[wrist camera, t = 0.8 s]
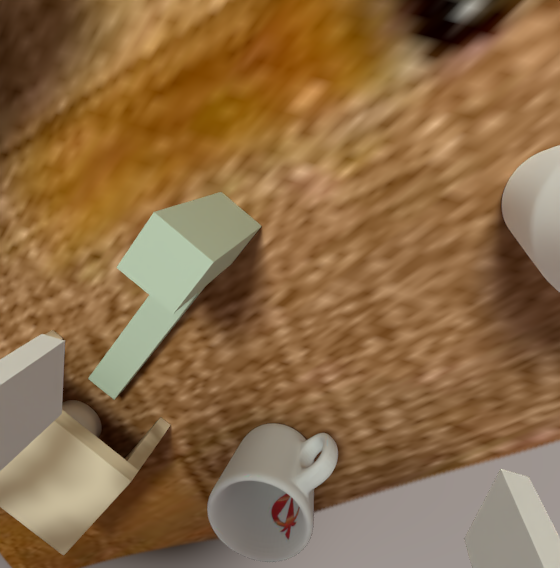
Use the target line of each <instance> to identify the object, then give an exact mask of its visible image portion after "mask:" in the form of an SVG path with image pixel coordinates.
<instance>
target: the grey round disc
mask: <svg viewBox="0 0 560 568" xmlns="http://www.w3.org/2000/svg"><path fill="white" fill-rule="evenodd" d="M62 410H63V411H65V412H66V413H67V414H68V415H70V416H71V417H72V418H73V419H75V420H76V421H77V422H78V423H80V424H81V425H82V426H83V427H85V428H86V429H87V430H89V431H90V432H91V433H92V434H94V435H95V436H96V437H97V438H99V436H100V434H101V431H102V425H101V421H100V419H99V417H98V415H97V414H96V412H95V411H94V410H93V409H92V408H91V407H90V406H88V405H87V404H85V403H83V402H80V401H76V400H68V401H65V402H63V403H62Z"/></svg>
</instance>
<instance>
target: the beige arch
mask: <svg viewBox="0 0 560 568" xmlns="http://www.w3.org/2000/svg"><path fill="white" fill-rule="evenodd" d="M45 335H48V336H51V337H55V338H58V339H61V340H62V339H63V338H62V337H61V336H59V335H58V334H57V333H56V332H54V331H53V330H52V331H50V332H48V333H47V334H45ZM170 426H171V425H170V424H169V423H168V422H166V421H165V420H164V419H163V418H161V417H160V419H159V420H158V421H157V422H156V423H155V424H154V425H153V427H152V428H151V429H150V430H149V431H148V432H147V434H146V435H145V436H144V437H143V438H142V439H141V440H140V442H139V443H138V444H137V445H136V446H135V447H134V448H133V450H132V451H131V452H130V453H129V454H128V455H127V456H126V458H125V459H124V458H123V457H121V456H120V455H119V454H117V453H116V452H115V451H114V450H112V449H111V448H110V447H109V446H107V445H106V444H105V443H104V442H102V441H101V440H100V439H99V438H97V437H96V436H95V435H94V434H92V433H91V432H90V431H89V430H87V429H86V428H85V427H83V426H82V425H81V424H80V423H78V422H77V421H76V420H75V419H73V418H72V417H71V416H70V415H68V414H67V413H66V412H65V411H63V410H62V414H61V415H60V416H59V417H58V418H57V419H56V420H55V421H54V422H53V423H51V424H50V425H49V426H48V427H47V428H46V429H45V430H44V431H43V432H42V433H41V434H40V435H39V436H37V437H36V438H35V439H34V440H33V441H32V442H31V443H30V444H29V445H28V446H27V447H26V448H25V449H23V450H22V451H21V452H20V453H19V454H18V455H17V456H16V457H15V458H14V459H13V460H12V461H11V462H10V463H8V464H7V465H6V466H5V467H4V468H3V469H2V470H1V471H0V507H1V508H2V509H4V510H5V511H6V512H8V513H9V514H10V515H11V516H13V517H14V518H15V519H17V520H18V521H19V522H21V523H22V524H23V525H24V526H26V527H27V528H28V529H30V530H31V531H32V532H34V533H35V534H36V535H37V536H39V537H40V538H41V539H43V540H44V541H45V542H47V543H48V544H49V545H50V546H52V547H53V548H54V549H56V550H57V551H58V552H60V553H61V554H62V555H63V556H64V555H65V553H66V552H67V551H68V550H69V549H70V548H71V547H72V546H73V545H74V544H75V543H76V541H77V540H78V539H79V538H80V537H81V536H82V535H83V534H84V533H85V532H86V530H87V529H88V528H89V527H90V526H91V525H92V524H93V523H94V522H95V521H96V520H97V518H98V517H99V516H100V515H101V514H102V513H103V512H104V511H105V510H106V509H107V507H108V506H109V505H110V504H111V503H112V502H113V501H114V500H115V499H116V498H117V497H118V495H119V494H120V493H121V492H122V491H123V490H124V489H125V488H126V487H127V486H128V484H129V483H130V482H131V481H132V480H133V478H134V477H135V475H136V474H137V473H138V471H139V470H140V468H141V467H142V465H143V464H144V463H145V461H146V460H147V458H148V457H149V455H150V454H151V453H152V451H153V450H154V448H155V447H156V445H157V444H158V443H159V441H160V440H161V438H162V437H163V435H164V434H165V433H166V431H167V430H168V428H169V427H170Z"/></svg>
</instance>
